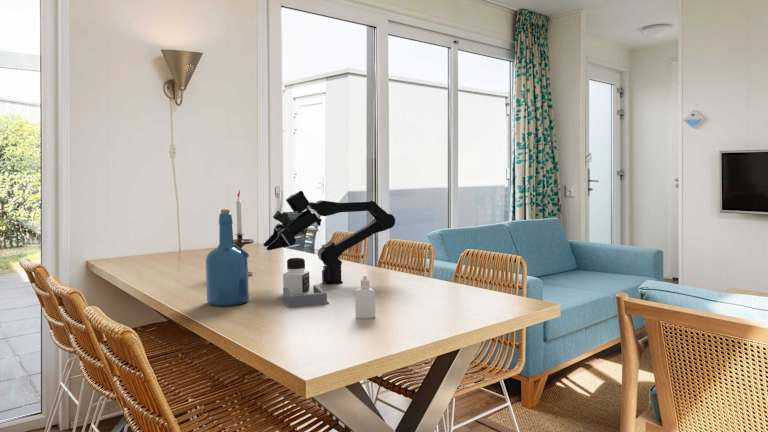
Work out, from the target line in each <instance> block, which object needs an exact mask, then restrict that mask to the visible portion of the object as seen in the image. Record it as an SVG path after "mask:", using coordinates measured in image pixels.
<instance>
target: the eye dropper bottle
mask: <svg viewBox="0 0 768 432" xmlns="http://www.w3.org/2000/svg"><path fill="white" fill-rule="evenodd" d="M354 294H355V296H354V297H355V300H354V301H355V306H354V307H355V318H356V319H364V320H366V319H368V320H370V319H374V318H376V290H374V289H373V288H371V287H370V279H368V278H367V274H364V275H363V277H362V279H361V280H360V288H358V289H356V291H355V293H354Z"/></svg>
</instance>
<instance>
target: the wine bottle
mask: <svg viewBox="0 0 768 432" xmlns="http://www.w3.org/2000/svg"><path fill="white" fill-rule="evenodd" d="M218 217H219V218H218V225H219V229H218V230H219V232H218V233H219V234H218V235H219V241H218V242H219V243H218V246H217V247H215V248H213V249H211V250H210V251H209V252H208V254H207V256H206V258H205V275H206V276H205V277H206V278H205V279H206V282H205V283H206V301H207V303H208V304H209V305H211V306H216V307H232V306H238V305H242V304H244V303H247V302H248V301H249V298H250V291H249V289H250V288H249V287H250V285H249V277H248V272H249V257H250V254H249V253H248V252H247V251H246V250H244V249H243V248H242V249H241V248H240V247H238V246H237V245H236V244H235V243H233V240H234V231H233V225H234V224H233V216H232V213H231V212H230V209H228V208H225V209H221V210H220V213H219V216H218Z"/></svg>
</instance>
